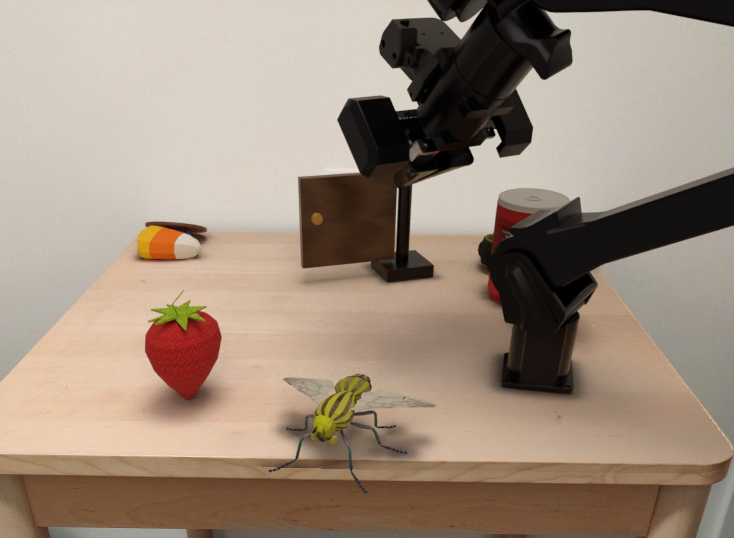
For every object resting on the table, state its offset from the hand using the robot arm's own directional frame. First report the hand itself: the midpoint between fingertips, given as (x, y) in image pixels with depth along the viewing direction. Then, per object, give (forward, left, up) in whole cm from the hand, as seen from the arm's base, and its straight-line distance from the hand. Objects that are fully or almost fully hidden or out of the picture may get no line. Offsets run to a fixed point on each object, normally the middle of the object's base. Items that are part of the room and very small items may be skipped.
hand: (398, 183), depth 74 cm
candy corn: (+13, +35, -12) cm, 39 cm away
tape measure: (+18, -11, -14) cm, 26 cm away
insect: (-28, 0, -14) cm, 31 cm away
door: (+10, +7, -12) cm, 17 cm away
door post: (+13, +1, -13) cm, 19 cm away
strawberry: (-23, +15, -14) cm, 30 cm away
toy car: (+19, +33, -11) cm, 39 cm away
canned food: (+8, -13, -14) cm, 21 cm away
